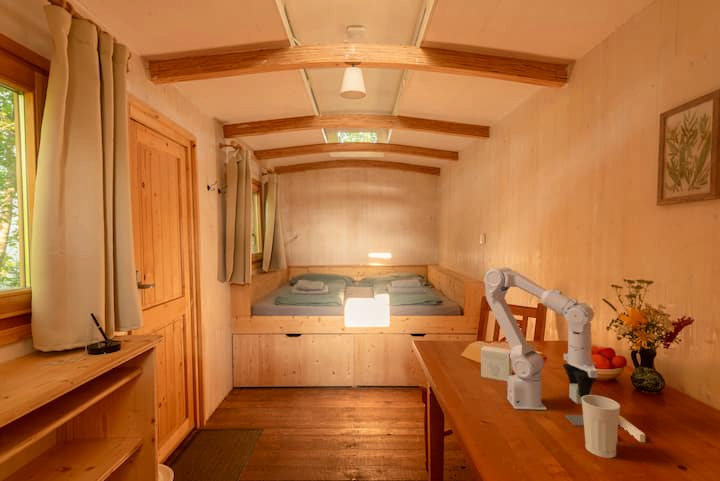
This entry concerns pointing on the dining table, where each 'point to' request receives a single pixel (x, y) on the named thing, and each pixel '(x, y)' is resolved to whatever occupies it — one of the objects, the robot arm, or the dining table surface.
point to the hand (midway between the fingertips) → (579, 393)
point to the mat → (576, 419)
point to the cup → (600, 425)
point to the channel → (631, 429)
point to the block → (575, 393)
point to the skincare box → (495, 363)
